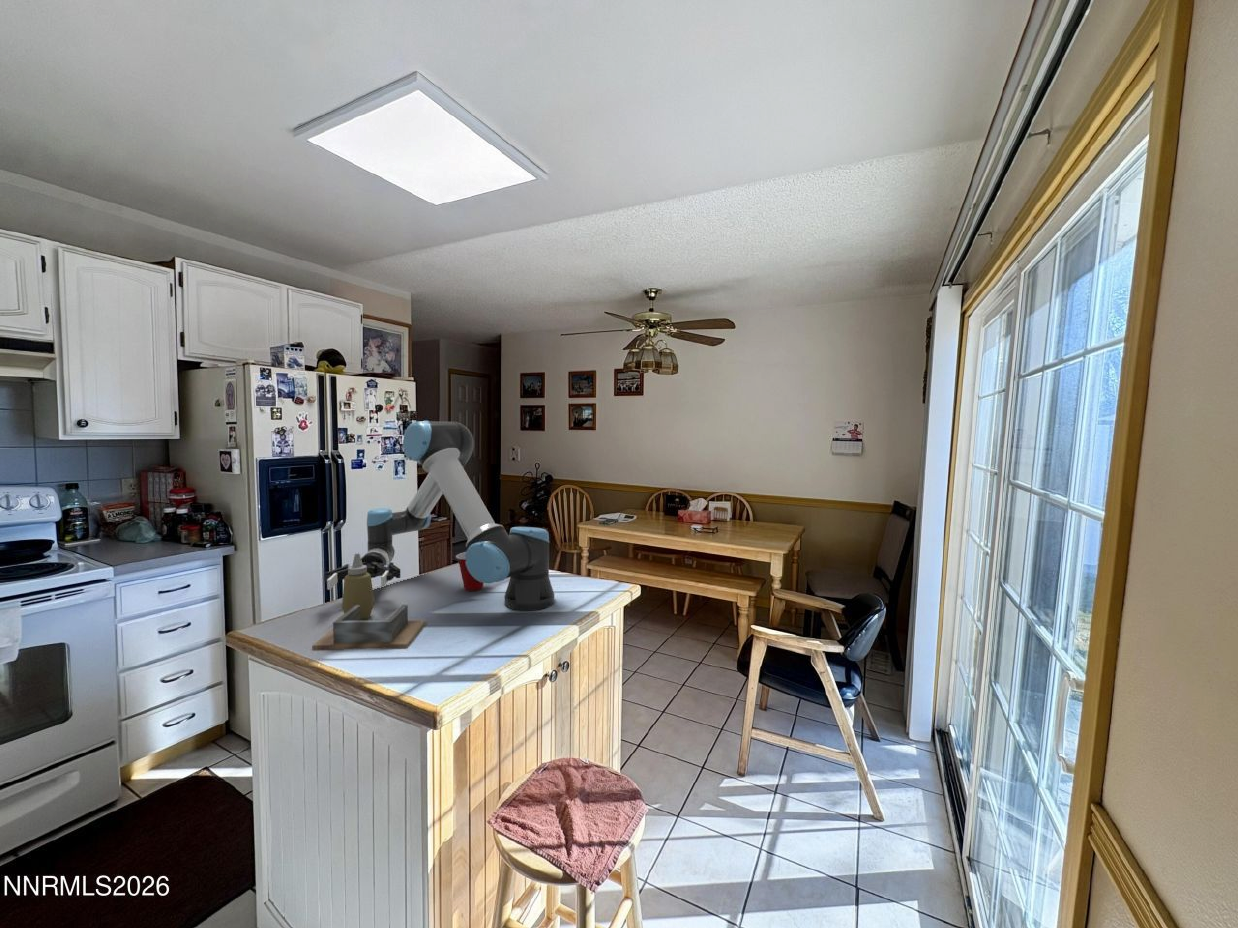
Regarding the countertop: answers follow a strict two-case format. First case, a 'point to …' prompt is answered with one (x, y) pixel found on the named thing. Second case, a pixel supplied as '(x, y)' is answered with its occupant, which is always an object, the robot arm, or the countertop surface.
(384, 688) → the countertop surface
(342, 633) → the u rest
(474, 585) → the plastic cup
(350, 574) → the squeeze bottle
